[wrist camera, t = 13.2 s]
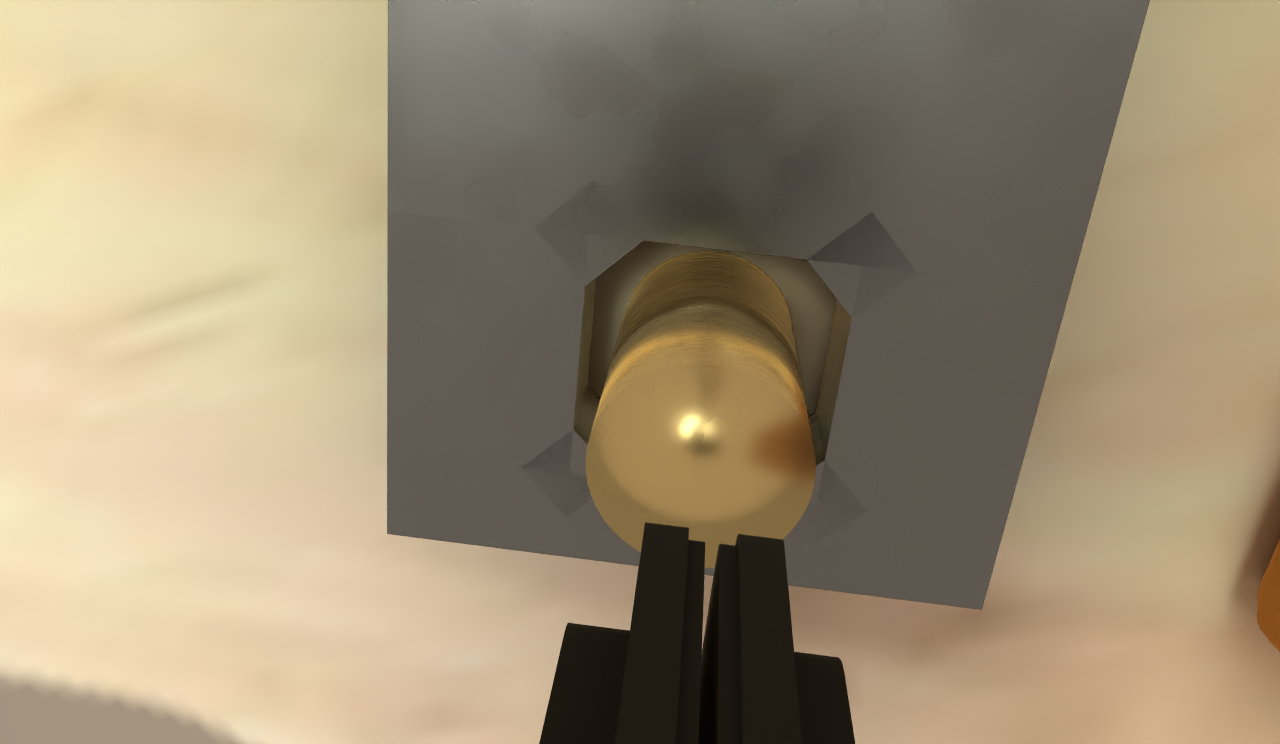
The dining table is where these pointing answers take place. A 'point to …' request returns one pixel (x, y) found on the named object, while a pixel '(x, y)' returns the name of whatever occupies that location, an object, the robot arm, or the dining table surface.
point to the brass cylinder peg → (703, 409)
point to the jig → (743, 247)
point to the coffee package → (1270, 600)
